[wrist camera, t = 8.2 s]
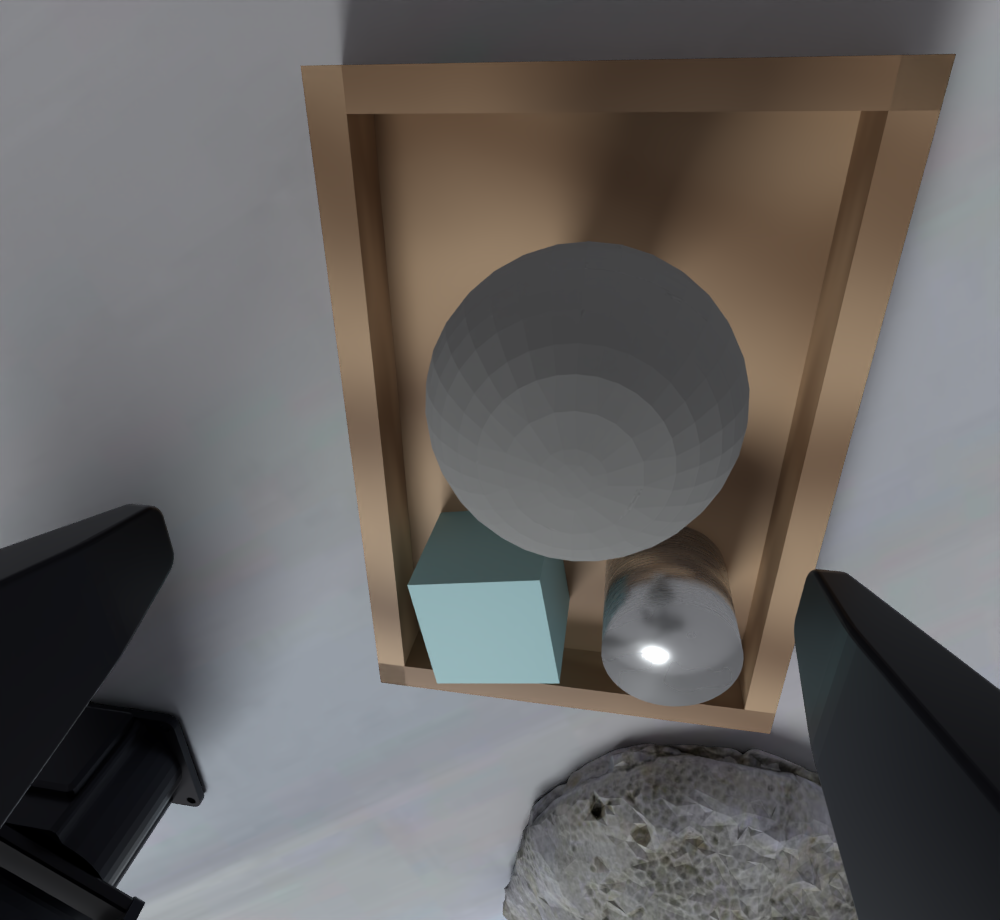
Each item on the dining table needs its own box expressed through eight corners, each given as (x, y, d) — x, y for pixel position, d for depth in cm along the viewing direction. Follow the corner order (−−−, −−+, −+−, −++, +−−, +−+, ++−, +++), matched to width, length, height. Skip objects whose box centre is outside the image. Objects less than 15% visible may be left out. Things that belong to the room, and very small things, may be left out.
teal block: (569, 599, 24) (559, 683, 20) (464, 602, 25) (437, 683, 21) (554, 505, 22) (539, 580, 19) (440, 512, 23) (407, 585, 20)
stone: (485, 971, 33) (509, 890, 22) (520, 810, 38) (552, 685, 28) (855, 1094, 30) (1074, 1068, 20) (836, 904, 36) (1001, 806, 25)
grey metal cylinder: (716, 623, 23) (731, 714, 20) (601, 610, 24) (597, 697, 20) (735, 529, 21) (754, 612, 18) (610, 518, 22) (606, 596, 19)
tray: (757, 678, 25) (769, 733, 23) (400, 635, 27) (380, 682, 25) (910, 60, 15) (955, 53, 13) (341, 69, 18) (300, 65, 15)
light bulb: (693, 173, 17) (773, 243, 8) (712, 390, 19) (787, 621, 11) (469, 222, 18) (331, 325, 10) (514, 418, 21) (438, 642, 12)
